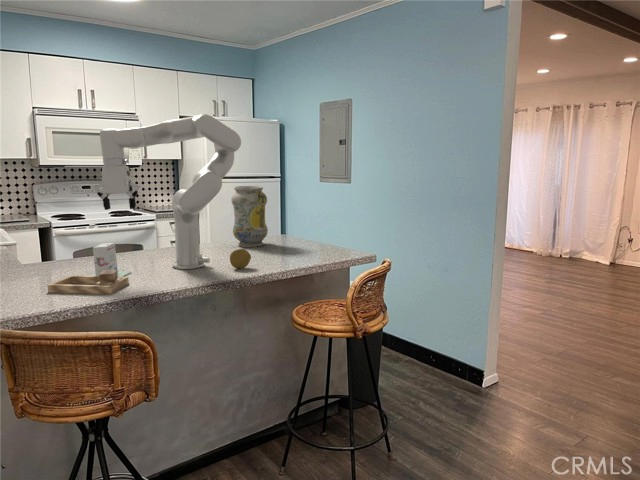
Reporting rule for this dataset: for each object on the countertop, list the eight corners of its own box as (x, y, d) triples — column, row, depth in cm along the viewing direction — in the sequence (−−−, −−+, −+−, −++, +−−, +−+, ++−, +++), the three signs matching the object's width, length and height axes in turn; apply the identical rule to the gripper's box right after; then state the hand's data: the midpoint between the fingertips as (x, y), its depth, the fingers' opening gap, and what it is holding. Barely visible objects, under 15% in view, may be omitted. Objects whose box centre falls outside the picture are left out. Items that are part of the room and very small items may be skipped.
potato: (227, 269, 186) (226, 250, 184) (237, 265, 193) (236, 246, 191) (242, 271, 183) (242, 251, 182) (252, 267, 190) (251, 248, 189)
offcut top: (117, 278, 161) (116, 269, 161) (114, 282, 156) (113, 273, 155) (103, 278, 160) (103, 270, 160) (99, 283, 155) (99, 274, 154)
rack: (128, 283, 164) (128, 276, 164) (110, 294, 151) (109, 286, 151) (71, 282, 165) (70, 275, 165) (48, 292, 153) (47, 285, 152)
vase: (251, 249, 226) (250, 188, 221) (225, 245, 236) (223, 186, 231) (274, 244, 241) (274, 186, 236) (248, 240, 251) (247, 185, 245)
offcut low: (121, 286, 162) (121, 278, 161) (111, 292, 155) (110, 283, 154) (107, 286, 162) (107, 277, 161) (96, 291, 155) (96, 283, 155)
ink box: (104, 272, 177) (102, 242, 175) (118, 272, 178) (116, 242, 176) (94, 278, 169) (92, 246, 167) (108, 278, 169) (106, 246, 167)
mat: (131, 272, 180) (131, 271, 180) (113, 282, 166) (112, 280, 166) (101, 271, 181) (101, 270, 180) (80, 281, 167) (80, 280, 167)
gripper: (141, 162, 175) (146, 207, 179) (96, 163, 176) (102, 208, 180) (132, 162, 168) (138, 209, 171) (86, 164, 169) (92, 211, 172)
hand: (120, 208), depth 175 cm, fingers open, 9 cm apart
